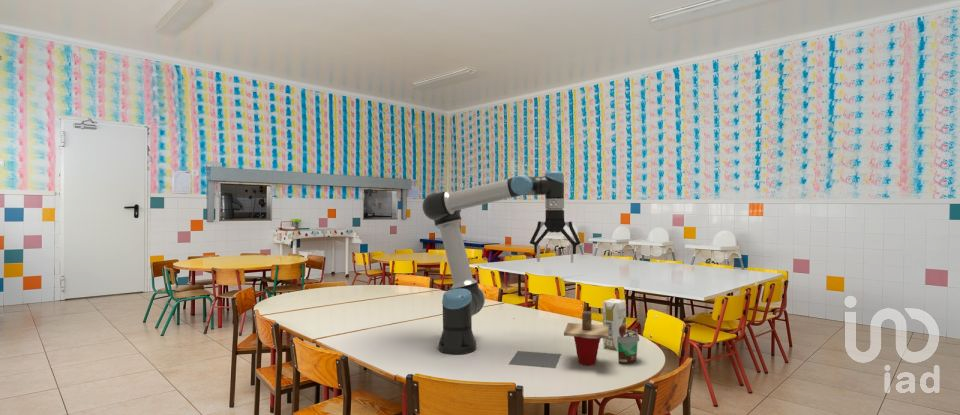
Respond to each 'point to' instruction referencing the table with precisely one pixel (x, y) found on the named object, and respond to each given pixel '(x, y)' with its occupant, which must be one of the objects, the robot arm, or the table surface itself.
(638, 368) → the table surface
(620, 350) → the food container
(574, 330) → the lid
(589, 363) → the plastic cup
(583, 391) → the table surface
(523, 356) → the mat
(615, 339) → the juice carton
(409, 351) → the table surface
